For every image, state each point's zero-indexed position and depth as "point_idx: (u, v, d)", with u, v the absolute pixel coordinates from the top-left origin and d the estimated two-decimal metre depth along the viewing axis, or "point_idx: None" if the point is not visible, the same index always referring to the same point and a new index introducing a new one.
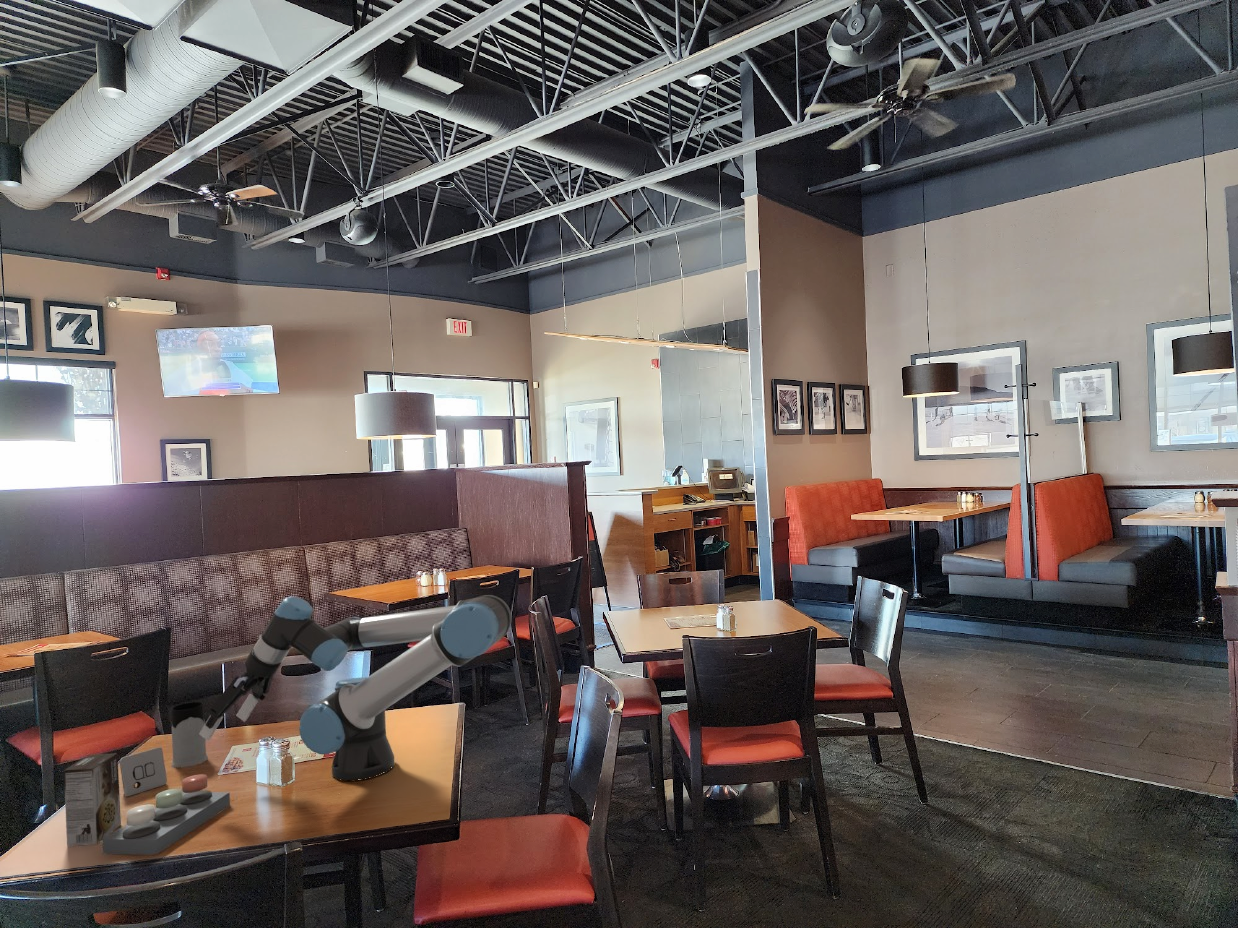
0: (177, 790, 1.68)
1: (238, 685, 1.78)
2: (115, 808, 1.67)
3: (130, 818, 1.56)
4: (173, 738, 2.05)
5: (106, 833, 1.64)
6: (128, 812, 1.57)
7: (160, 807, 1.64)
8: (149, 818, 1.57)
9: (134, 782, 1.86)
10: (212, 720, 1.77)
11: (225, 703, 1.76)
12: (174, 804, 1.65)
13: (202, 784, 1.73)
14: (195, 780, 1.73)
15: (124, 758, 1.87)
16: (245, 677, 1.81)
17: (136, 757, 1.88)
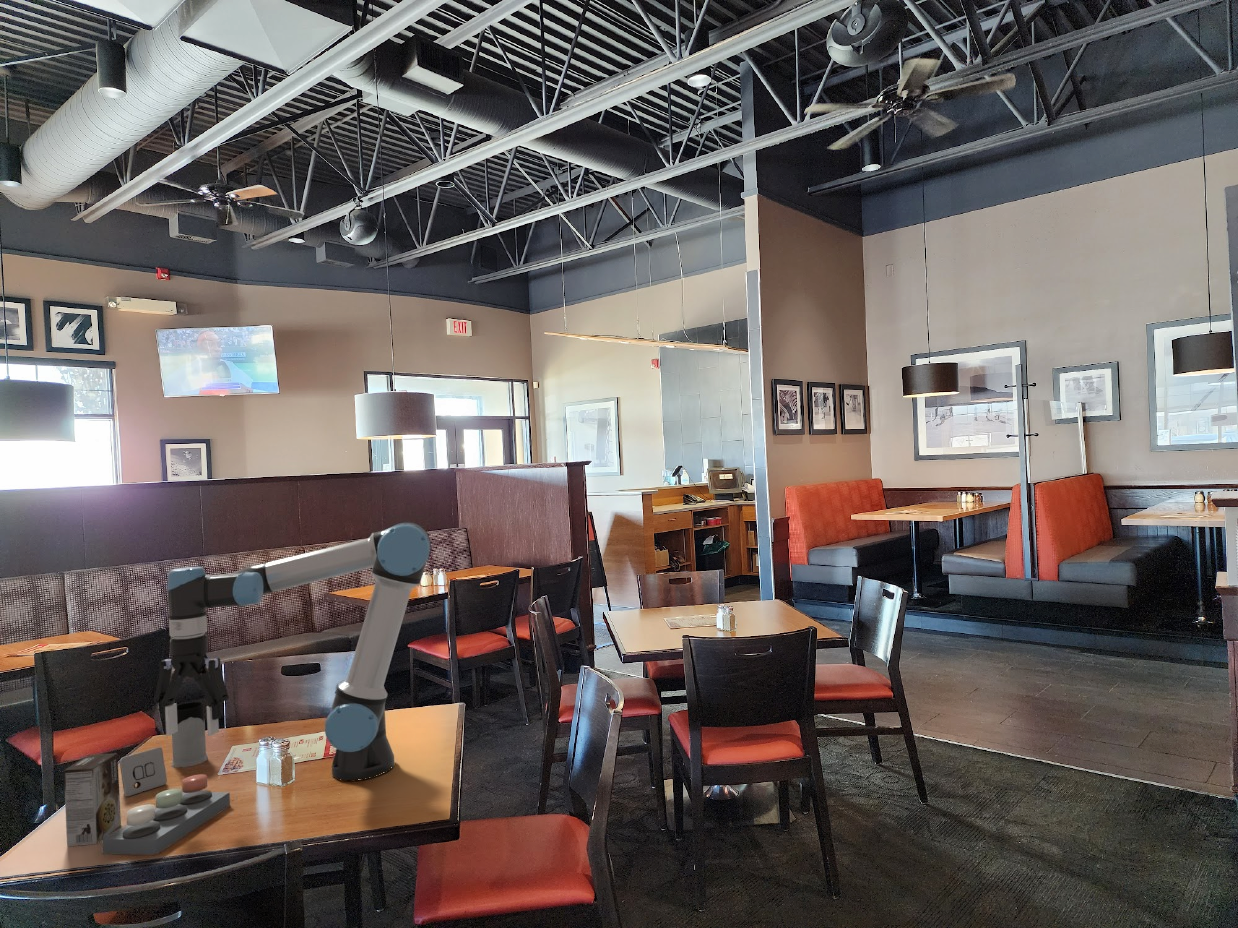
0: (177, 790, 1.68)
1: (218, 664, 1.74)
2: (115, 808, 1.67)
3: (130, 818, 1.56)
4: (173, 738, 2.05)
5: (106, 833, 1.64)
6: (128, 812, 1.57)
7: (160, 807, 1.64)
8: (149, 818, 1.57)
9: (134, 782, 1.86)
10: (219, 708, 1.74)
11: (223, 683, 1.74)
12: (174, 804, 1.65)
13: (202, 784, 1.73)
14: (195, 780, 1.73)
15: (124, 758, 1.87)
16: (205, 659, 1.74)
17: (136, 757, 1.88)
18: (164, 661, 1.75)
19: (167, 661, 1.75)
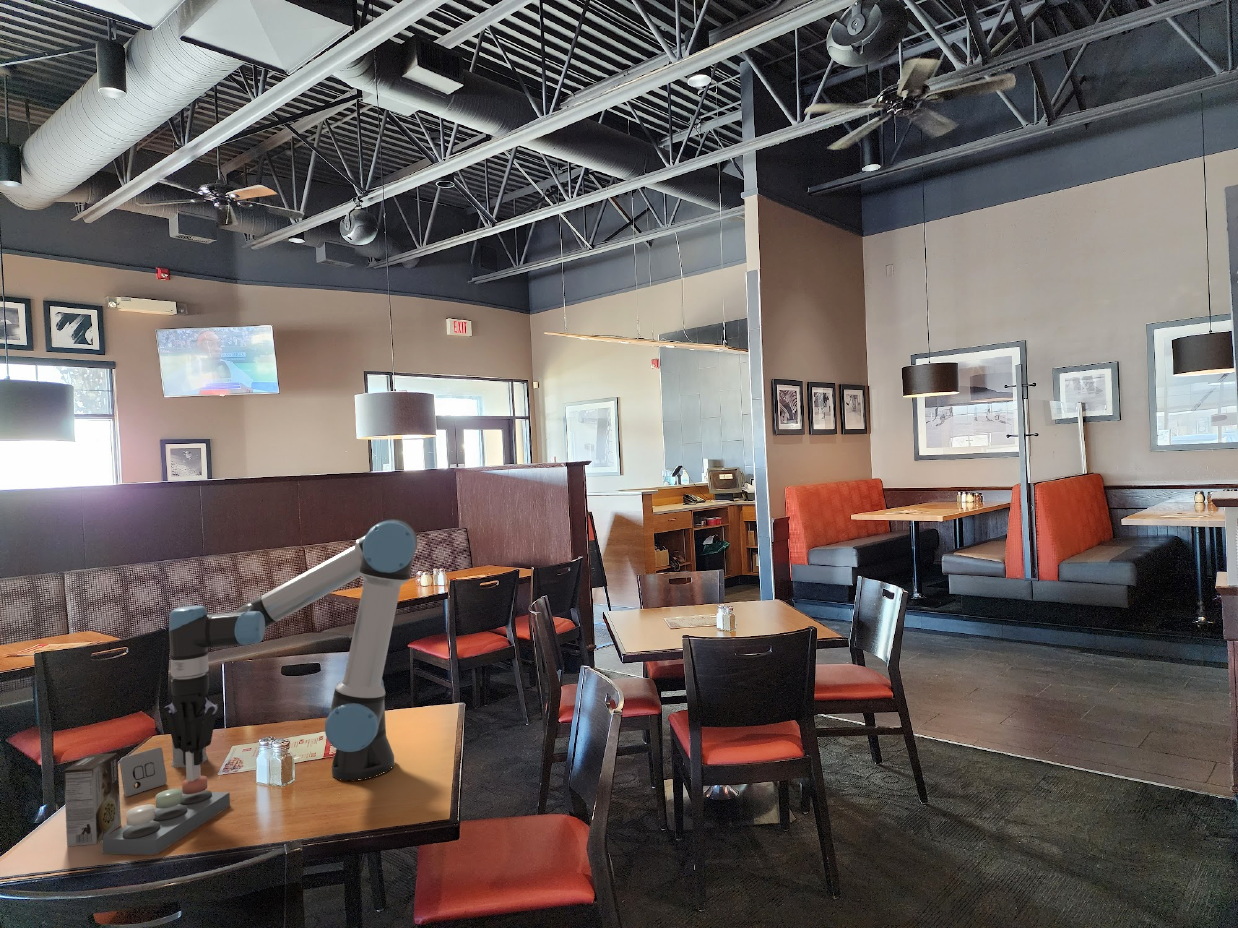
0: (177, 790, 1.68)
1: (216, 711, 1.74)
2: (115, 808, 1.67)
3: (130, 818, 1.56)
4: None
5: (106, 833, 1.64)
6: (128, 812, 1.57)
7: (160, 807, 1.64)
8: (149, 818, 1.57)
9: (134, 782, 1.86)
10: (201, 754, 1.74)
11: (212, 730, 1.75)
12: (174, 804, 1.65)
13: (203, 785, 1.73)
14: (195, 781, 1.73)
15: (124, 758, 1.87)
16: (207, 701, 1.74)
17: (136, 757, 1.88)
18: (167, 706, 1.75)
19: (169, 705, 1.75)
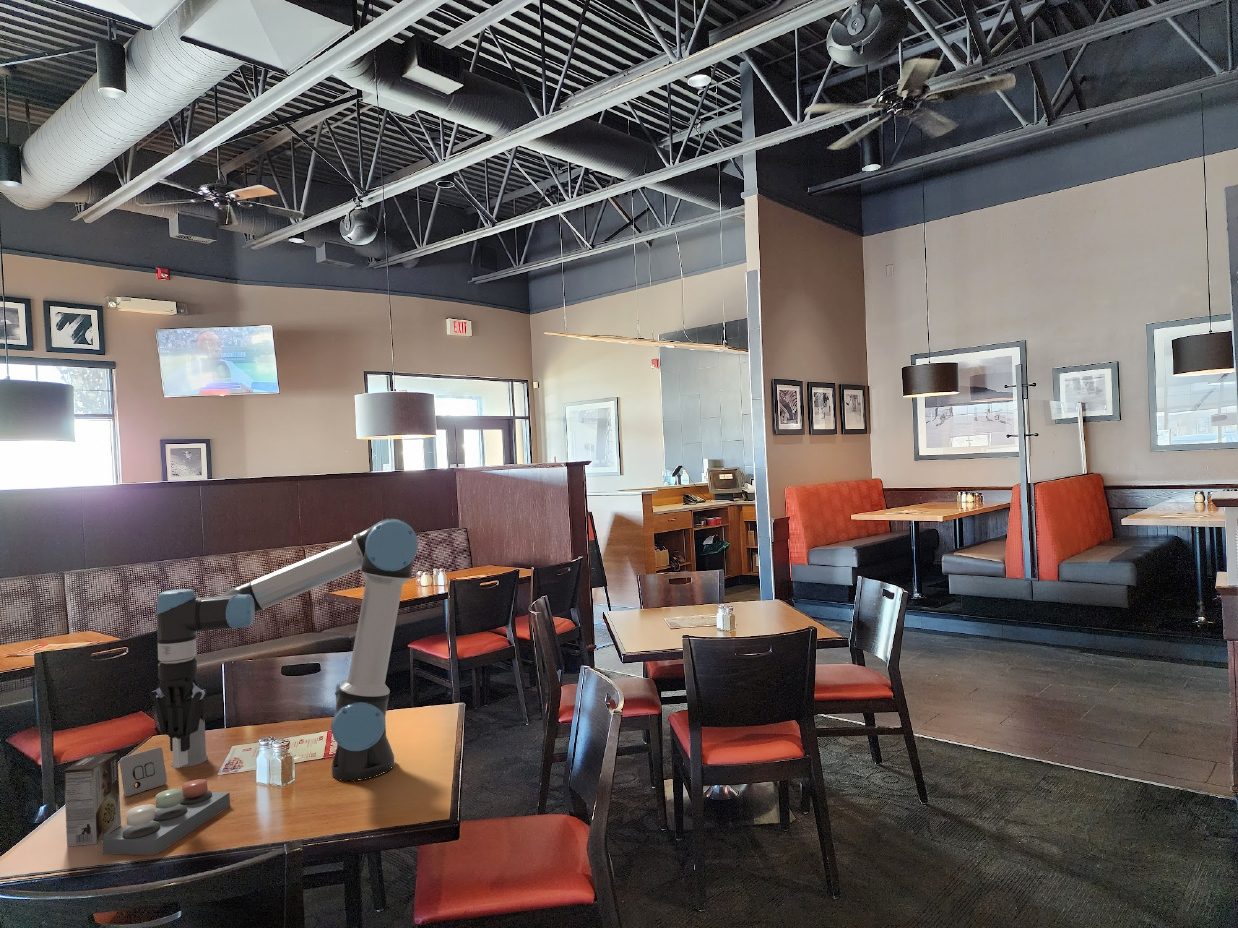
0: (177, 790, 1.68)
1: (203, 696, 1.71)
2: (115, 808, 1.67)
3: (130, 818, 1.56)
4: None
5: (106, 833, 1.64)
6: (128, 812, 1.57)
7: (160, 807, 1.64)
8: (149, 818, 1.57)
9: (134, 782, 1.86)
10: (188, 740, 1.71)
11: (199, 715, 1.71)
12: (174, 804, 1.65)
13: (203, 789, 1.73)
14: (195, 785, 1.73)
15: (124, 758, 1.87)
16: (194, 686, 1.70)
17: (136, 757, 1.88)
18: (154, 691, 1.71)
19: (157, 690, 1.72)
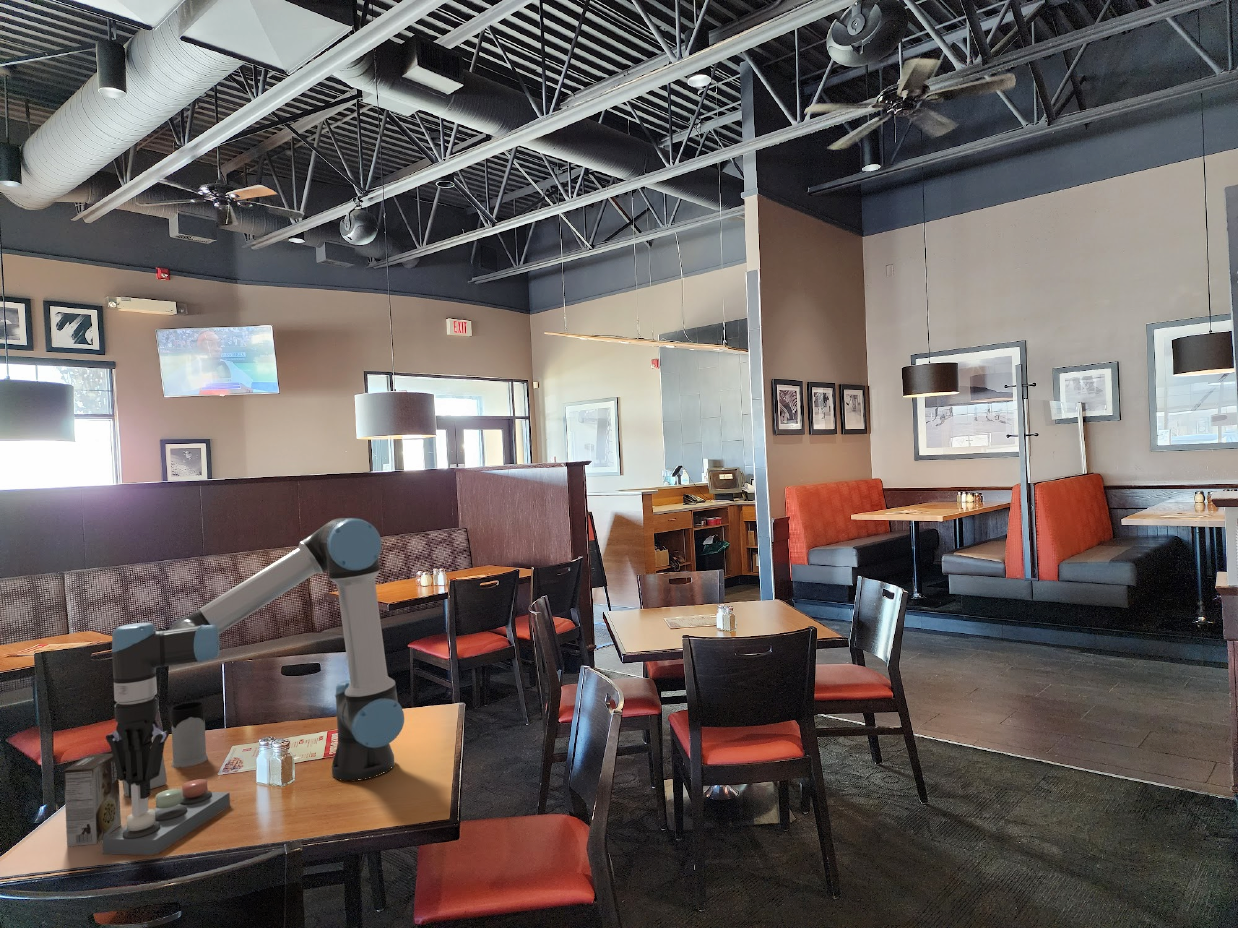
0: (177, 790, 1.68)
1: (164, 739, 1.58)
2: (115, 808, 1.67)
3: (130, 823, 1.56)
4: (173, 738, 2.05)
5: (106, 833, 1.64)
6: (128, 817, 1.57)
7: (160, 807, 1.64)
8: (149, 823, 1.57)
9: None
10: (148, 786, 1.58)
11: (160, 759, 1.59)
12: (174, 804, 1.65)
13: (203, 789, 1.73)
14: (195, 785, 1.73)
15: None
16: (154, 728, 1.58)
17: None
18: (110, 734, 1.59)
19: (114, 733, 1.59)
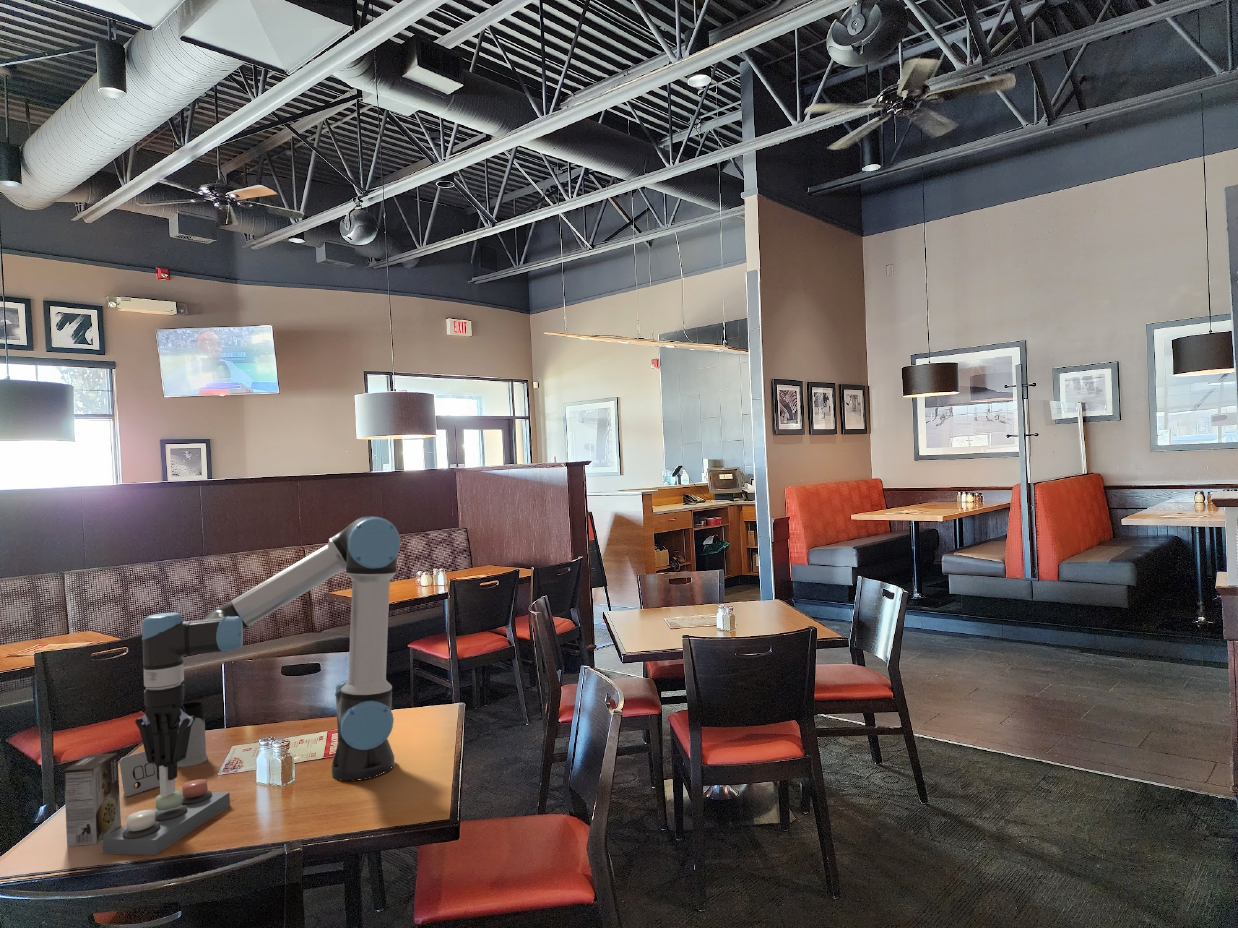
0: (177, 792, 1.68)
1: (191, 723, 1.66)
2: (115, 808, 1.67)
3: (130, 823, 1.56)
4: None
5: (106, 833, 1.64)
6: (128, 817, 1.57)
7: (160, 809, 1.64)
8: (149, 823, 1.57)
9: (134, 782, 1.86)
10: (175, 768, 1.66)
11: (187, 742, 1.67)
12: (174, 806, 1.65)
13: (203, 789, 1.73)
14: (195, 785, 1.73)
15: (124, 758, 1.87)
16: (182, 713, 1.66)
17: (136, 757, 1.88)
18: (140, 718, 1.67)
19: (143, 717, 1.67)
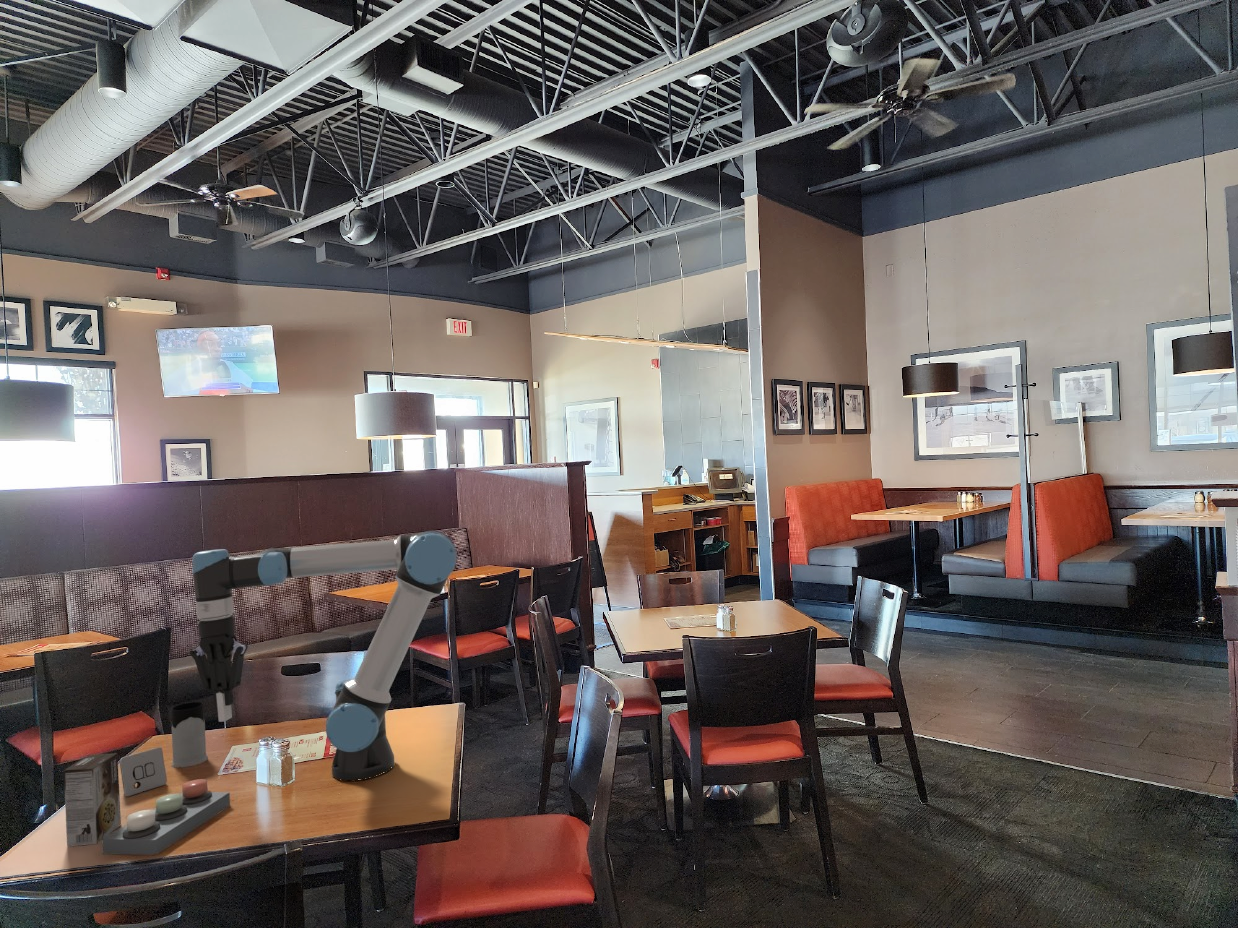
0: (177, 795, 1.68)
1: (244, 651, 1.76)
2: (115, 808, 1.67)
3: (130, 823, 1.56)
4: (173, 738, 2.05)
5: (106, 833, 1.64)
6: (128, 817, 1.57)
7: (160, 812, 1.64)
8: (149, 823, 1.57)
9: (134, 782, 1.86)
10: (231, 694, 1.76)
11: (241, 670, 1.76)
12: (174, 810, 1.65)
13: (203, 789, 1.73)
14: (195, 785, 1.73)
15: (124, 758, 1.87)
16: (235, 642, 1.75)
17: (136, 757, 1.88)
18: (194, 650, 1.76)
19: (197, 648, 1.76)
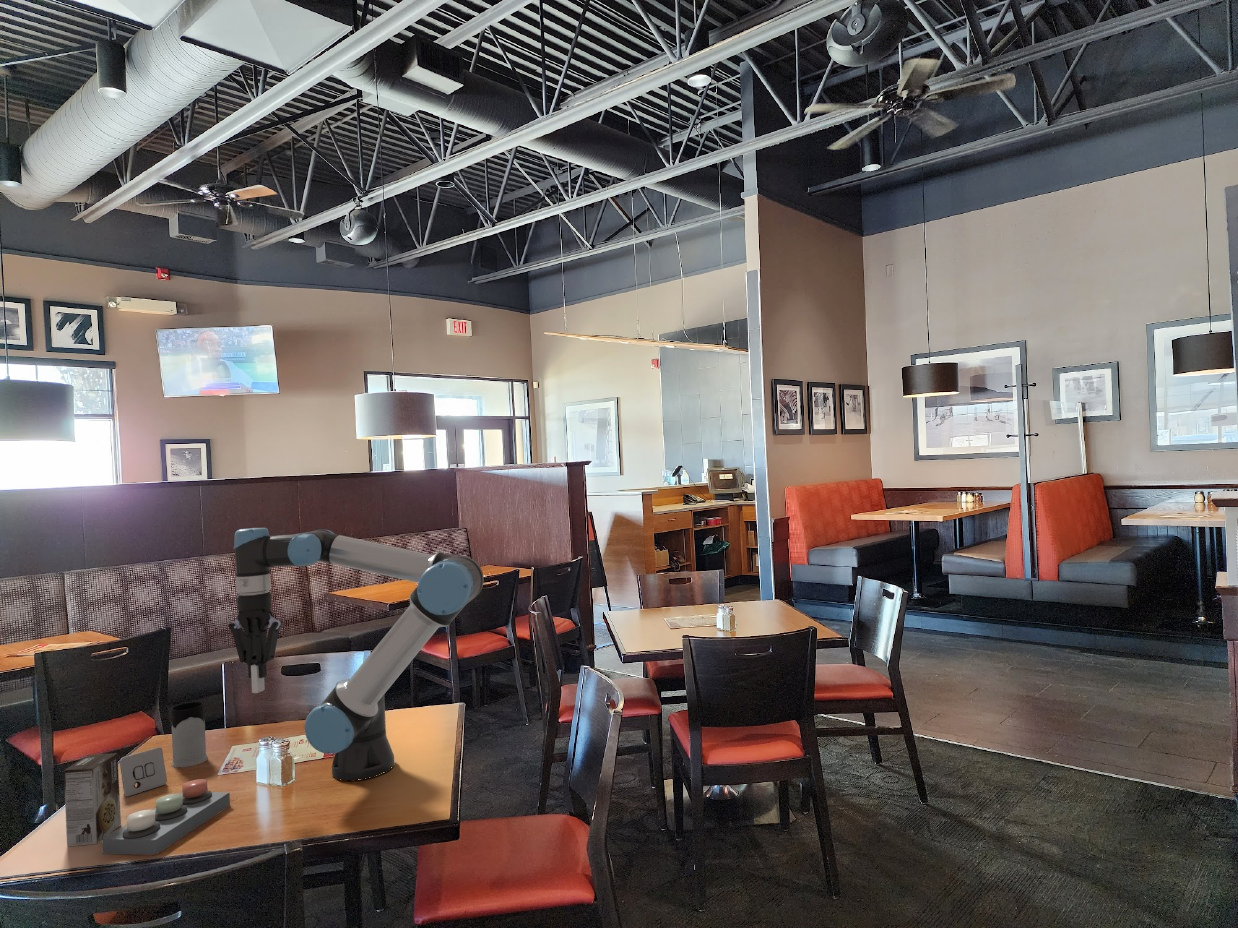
0: (177, 795, 1.68)
1: (279, 626, 1.83)
2: (115, 808, 1.67)
3: (130, 823, 1.56)
4: (173, 738, 2.05)
5: (106, 833, 1.64)
6: (128, 817, 1.57)
7: (160, 812, 1.64)
8: (149, 823, 1.57)
9: (134, 782, 1.86)
10: (265, 667, 1.83)
11: (275, 644, 1.83)
12: (174, 810, 1.65)
13: (203, 789, 1.73)
14: (195, 785, 1.73)
15: (124, 758, 1.87)
16: (270, 617, 1.82)
17: (136, 757, 1.88)
18: (232, 623, 1.83)
19: (235, 621, 1.83)
